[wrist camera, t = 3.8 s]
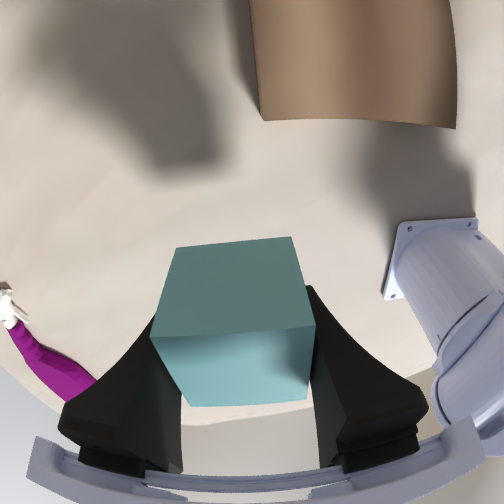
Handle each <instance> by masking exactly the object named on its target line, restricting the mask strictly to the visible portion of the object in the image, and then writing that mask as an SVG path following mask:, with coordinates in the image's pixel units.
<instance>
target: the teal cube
mask: <svg viewBox="0 0 504 504" xmlns="http://www.w3.org/2000/svg"><path fill="white" fill-rule="evenodd" d="M315 327H316V324H315V320H314V317H313V313H312V309H311V305H310V302H309V298H308V294H307V290H306V287H305V283H304V280H303V276H302V272H301V269H300V265H299V262H298V258H297V255H296V252H295V248H294V245H293V241H292V238H291V236H290V237H280V238H269V239H259V240H248V241H238V242H228V243H218V244H208V245H199V246H189V247H180V248H176V250H175V253H174V256H173V259H172V262H171V265H170V268H169V272H168V275H167V278H166V281H165V284H164V288H163V291H162V294H161V298H160V301H159V304H158V308H157V311H156V315H155V318H154V322H153V325H152V329H151V333H150V339H151V341H152V343H153V345H154V346H155V348H156V350H157V352H158V354H159V355H160V357H161V359H162V361H163V362H164V364H165V366H166V368H167V369H168V371H169V373H170V374H171V376H172V378H173V379H174V381H175V383H176V384H177V386H178V388H179V389H180V391H181V392H182V394H183V396H184V397H185V399H186V400H187V402H188V403H189V405H190V406H196V407H211V406H242V405H258V404H270V403H280V402H289V401H297V400H305V399H306V398H307V391H308V384H309V377H310V370H311V362H312V354H313V346H314V337H315Z"/></svg>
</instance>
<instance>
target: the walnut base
mask: <svg viewBox="0 0 504 504" xmlns="http://www.w3.org/2000/svg"><path fill="white" fill-rule="evenodd" d="M249 9H250V18H251V27H252V36H253V45H254V55H255V65H256V75H257V85H258V95H259V106H260V115H261V117H262V119H263V120H264V121H273V120H292V119H362V120H380V121H394V122H405V123H414V124H422V125H430V126H437V127H444V128H450V129H456V116H457V62H456V47H455V37H454V28H453V21H452V14H451V8H450V3H449V0H249Z"/></svg>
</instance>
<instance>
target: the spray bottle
mask: <svg viewBox="0 0 504 504" xmlns="http://www.w3.org/2000/svg"><path fill="white" fill-rule="evenodd" d="M12 295H13V293H12V291H11V289H6V290H5V289H1V290H0V320H1V321H2V323H3V324H4V325H5V326H6V328H7V331H8V332H9V334H10V336H11V338H12V340H13V342H14V343H15V345H16V346H17V348H18V349H19V351H20V352H21V354H22V355H23V357H24V359H25V362H26V364H27V365H28V366H29V367H30V368H31V370H32V371H33V372H34V373H35V374H36V375H37V377H38V378H39V379H40V380H41V381H42V382H44V383H45V384H46V385H47V386H48V387H49V388H50V389H51V390H52V391H53V392H54V393H56V394H57V395H58V396H59V397H60V398H62V399H63V400H64V401H65V402H68V401H69V400H71V399H72V398H74V397H75V396H77V395H78V394H80V393H82V392H83V391H84V390H86V389H87V388H88V387H90V386H91V385H92V384H94V383H95V382H96V380H95V379H94V378H93V377H92V376H91V375H90V374H89V373H88V372H87V371H86V370H85V369H83V368H82V367H81V366H80V365H78V364H77V363H75V362H73V361H72V360H70V359H68V358H66V357H64V356H61V355H59V354H57V353H54V352H52V351H49V350H47V349H44V348H43V347H42V346H40V345H39V343H38V342H37V341H36V340H35V339H34V338H33V337H32V335H31V333H30V332H29V331H28V330H26V329H25V326H24V323H23V322H22V321H24V322H25V323H27V324H28V323H29V320H28V319H27V318H25V317H24V316H23V315H22V314H21V313H20V312H19V311H18V310H17V309H16V308H15V307H14V306H13V304H12V302H11V297H12ZM16 317H18V318H19V319H21V320H22V321H20V320H18V319H17V318H16Z"/></svg>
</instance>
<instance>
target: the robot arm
mask: <svg viewBox="0 0 504 504" xmlns="http://www.w3.org/2000/svg"><path fill="white" fill-rule="evenodd" d="M410 226H411V227H410ZM478 226H479V220H478V219H477V218H476V217H473V218H455V219H438V220H422V221H407V222H402V223H400V224H399V226H398V229H397V235H396V240H395V245H394V250H393V254H392V259H391V263H390V268H389V272H388V276H387V280H386V284H385V288H384V292H383V296H382V297H383V299H384V300H385V301H388V300H393V299H399V298H404V297H405V298H406V300H407V301H408V303H409V305H410V307H411V308H412V310H413V312H414V314H415V315H416V317H417V319H418V321H419V323H420V324H421V326H422V328H423V330H424V332H425V334H426V336H427V338H428V339H429V341H430V343H431V345H432V347H433V349H434V351H435V353H436V355H437V357H438V358H437V360H436V361H435V363H434V364H433V365H432V366H433V369H434V371H435V373H436V375H437V377H436V378H435V380H434V382H433V384H432V387H431V404H432V408H433V411H434V414H435V417H436V419H437V421H438V422H439V424H440V425H441V426H442V427H443V430H442V431H441V432H440V433H439V434H437V435H435V436H432V437H430V438H427V439H425V440H422V441H420V442H418V440H417V437H416V433H418V428H417V425H416V424H417V423H418V422H419V421H420V420H421V419H422V418H423V417H424V416H425V414H426V413H427V412H428V409H429V406H428V404H427V401H426V398H425V396H424V394H423V392H422V391H421V389H420V387H419V386H417V385H415V384H413V383H411V382H410V381H408V380H406V379H404V378H403V377H401V376H399V375H398V374H396V373H395V372H393V371H392V370H390V369H389V368H387V367H386V366H385V365H383V364H382V363H381V362H380V361H378V360H377V359H376V358H374V357H373V356H372V355H371V354H369V353H368V352H367V351H366V350H365V349H364V348H363V347H362V346H360V345H359V344H358V343H357V342H356V341H355V340H354V339H353V338H352V337H351V336H350V335H349V334H348V333H347V331H346V330H345V329H344V328H343V327H342V326H341V325H340V324H339V322H338V321H337V320H336V319H335V318H334V316H333V315H332V314H331V313H330V311H329V310H328V309H327V307H326V306H325V305H324V303H323V302H322V301H321V299H320V298H319V296H318V295H317V293H316V292H315V290H314V288H313V287H312V286H311V285H307V286H305V287H306V290H307V294H308V298H309V302H310V305H311V309H312V313H313V317H314V320H315V324H316V327H315V337H314V346H313V354H312V362H311V370H310V377H309V380H310V384H311V389H312V396H313V403H314V411H315V419H316V426H317V427H316V428H317V437H318V448H319V461H320V469H316V470H310V471H303V472H295V473H286V474H276V475H262V476H237V477H236V476H230V477H228V476H197V475H183V474H181V473H182V472H183V463H182V451H181V396H182V392H181V391H180V389H179V388H178V386H177V384H176V383H175V381H174V379H173V378H172V376H171V374H170V373H169V371H168V369H167V368H166V366H165V364H164V362H163V361H162V359H161V357H160V355H159V354H158V352H157V350H156V348H155V346H154V345H153V343H152V341H151V339H150V333H151V329H152V325H153V322H154V318H155V315H156V313H155V315H154V316H153V318H152V319H151V321H150V322H149V323H148V325H147V326H146V327H145V329H144V330H143V332H142V333H141V334H140V336H139V337H138V338H137V339H136V341H135V342H134V343H133V345H132V346H131V347H130V348H129V350H128V351H127V352H126V353H125V354H124V355H123V356H122V357H121V359H120V360H119V361H118V362H117V363H116V364H115V365H114V366H113V367H112V368H111V369H110V370H108V371H107V372H106V373H105V374H104V375H103V376H102V377H101V378H100V379H98V380H97V381H96V382H95V383H94V384H92V385H91V386H90V387H88V388H87V389H86V390H84V391H83V392H82V393H80V394H78V395H77V396H75V397H74V398H72V399H71V400H69V401H68V402H66V403H65V404H64V407H63V410H62V413H61V417H60V420H59V424H58V430H59V431H60V432H61V434H63V435H64V436H65V437H67V438H68V439H70V440H71V441H73V442H74V443H76V444H77V445H79V446H81V447H80V452H79V454H77V453H74V452H71V451H68V450H65V449H64V448H62V447H61V446H59V445H57V444H56V443H54V442H51V441H49V440H46V439H44V438H41V437H38V436H36V438H35V442H34V445H33V449H32V453H31V457H30V461H29V466H28V470H27V475H26V477H27V478H28V479H30V480H32V481H33V482H35V483H37V484H39V485H41V486H43V487H45V488H47V489H49V490H51V491H53V492H55V493H57V494H59V495H61V496H63V497H65V498H67V499H70V500H72V501H74V502H76V503H79V504H229V503H203V502H188V498H187V497H184V496H180V495H176V494H173V493H171V492H170V491H165V490H159V489H155V488H150V487H148V486H147V485H149V486H155V487H161V488H168V489H177V490H185V491H198V492H215V493H217V492H218V493H252V492H271V491H283V490H291V489H300V488H308V487H314V486H320V485H326V484H331V483H336V482H340V483H336V484H332V485H329V486H324V487H320V488H316V489H312V491H311V493H310V494H308V499H307V500H298V501H289V502H275V503H251V504H407V503H410V502H412V501H414V500H417V499H419V498H421V497H423V496H425V495H427V494H429V493H432V492H434V491H436V490H437V489H440V488H441V487H443V486H445V485H447V484H449V483H451V482H453V481H455V480H456V479H458V478H460V477H462V476H463V475H465V474H467V473H469V472H470V471H472V470H473V469H475V468H477V467H478V466H480V465H482V464H483V463H485V462H486V460H487V459H486V456H504V255H503V254H502V253H501V252H500V251H499V250H498V249H497V248H496V247H495V246H494V245H493V244H492V243H491V242H490V241H489V240H488V239H487V238H486V237H485V236H484V235H483V234H482V233H481V232H480V231H479V230H478ZM408 227H410V228H409V229H408ZM407 229H408V230H407ZM345 480H347V481H345ZM341 481H345V482H341ZM249 504H250V503H249Z"/></svg>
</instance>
